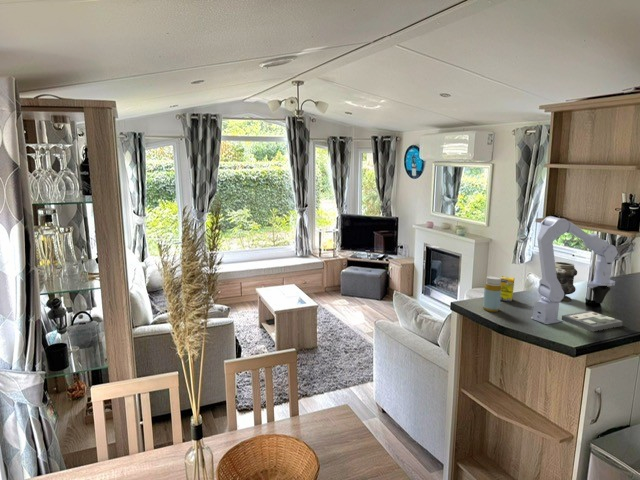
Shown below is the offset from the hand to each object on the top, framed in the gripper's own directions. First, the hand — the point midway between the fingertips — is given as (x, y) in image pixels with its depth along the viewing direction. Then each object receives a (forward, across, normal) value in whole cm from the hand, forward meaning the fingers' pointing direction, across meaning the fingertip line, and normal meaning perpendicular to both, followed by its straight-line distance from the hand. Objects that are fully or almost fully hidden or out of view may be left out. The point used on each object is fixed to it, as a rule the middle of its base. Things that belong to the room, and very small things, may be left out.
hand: (598, 302), depth 187 cm
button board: (+8, -5, -1) cm, 9 cm away
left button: (+8, -11, -5) cm, 14 cm away
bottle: (+8, -33, +26) cm, 43 cm away
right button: (+8, +1, -4) cm, 9 cm away
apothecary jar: (+8, +13, +28) cm, 31 cm away
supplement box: (+8, -16, +35) cm, 40 cm away
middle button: (+7, -5, -4) cm, 10 cm away
